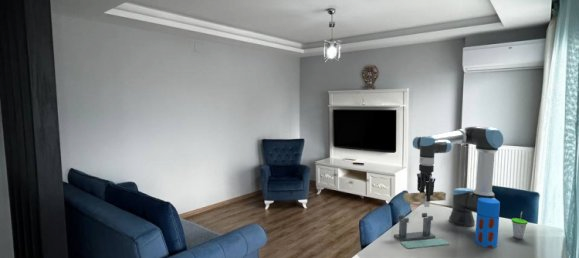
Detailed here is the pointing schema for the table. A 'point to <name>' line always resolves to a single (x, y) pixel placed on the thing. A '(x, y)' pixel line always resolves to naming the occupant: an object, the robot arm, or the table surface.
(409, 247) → the mat
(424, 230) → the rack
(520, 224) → the cup
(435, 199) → the rail
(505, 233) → the table surface
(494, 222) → the thermos
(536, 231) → the table surface
